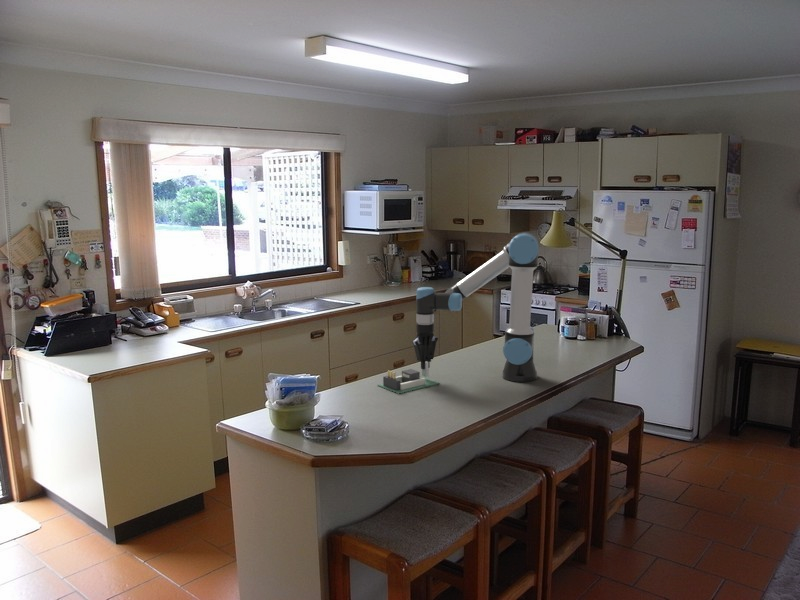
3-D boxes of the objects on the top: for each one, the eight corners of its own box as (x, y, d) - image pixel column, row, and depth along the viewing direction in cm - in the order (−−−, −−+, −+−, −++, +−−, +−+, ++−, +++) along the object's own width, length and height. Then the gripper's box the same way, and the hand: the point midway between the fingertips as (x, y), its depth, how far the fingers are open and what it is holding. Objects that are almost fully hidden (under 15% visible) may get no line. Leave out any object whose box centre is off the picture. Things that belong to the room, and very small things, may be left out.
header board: (439, 383, 288) (439, 366, 287) (398, 394, 275) (398, 376, 274) (417, 376, 300) (417, 360, 299) (377, 385, 287) (377, 368, 285)
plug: (419, 383, 288) (419, 371, 287) (410, 385, 285) (410, 374, 284) (411, 380, 292) (410, 369, 292) (401, 382, 289) (401, 371, 288)
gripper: (431, 319, 296) (431, 371, 300) (407, 323, 288) (408, 376, 292) (442, 322, 290) (442, 375, 294) (418, 326, 282) (419, 380, 286)
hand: (425, 375), depth 293 cm, fingers closed
